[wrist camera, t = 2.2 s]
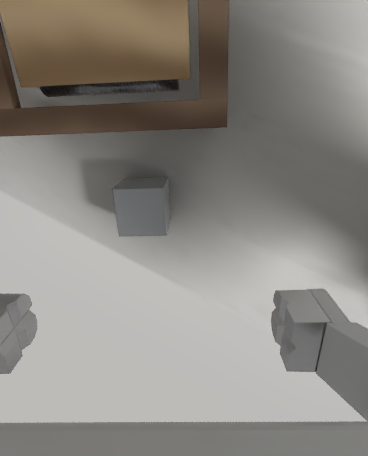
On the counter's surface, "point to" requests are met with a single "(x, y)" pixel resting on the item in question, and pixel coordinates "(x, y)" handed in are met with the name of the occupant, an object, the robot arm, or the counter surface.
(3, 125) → the trapdoor frame
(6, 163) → the counter surface
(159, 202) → the stone block
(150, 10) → the trapdoor
